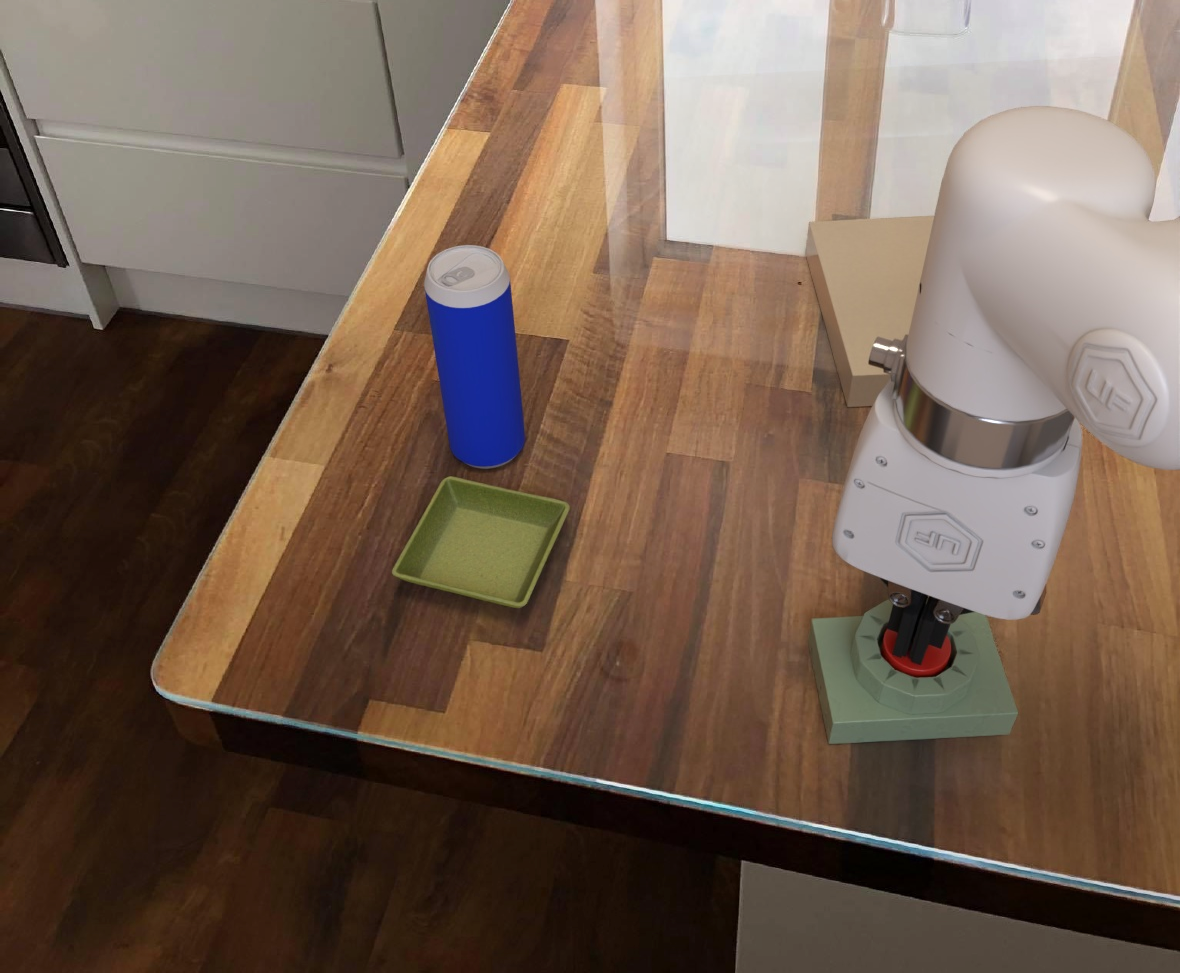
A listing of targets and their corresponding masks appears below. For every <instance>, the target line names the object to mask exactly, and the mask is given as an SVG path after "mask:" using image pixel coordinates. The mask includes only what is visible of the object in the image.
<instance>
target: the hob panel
mask: <svg viewBox="0 0 1180 973" xmlns="http://www.w3.org/2000/svg"><path fill="white" fill-rule="evenodd" d="M933 220H934V215H918V216H915V215H914V216H896V217H895V216H894V217H877V218H876V217H874V218H859V219H857V218H855V219H836V220H834V219H833V220H817V221H815V220H814V221H813V220H812V221H809V222H808V229H807V237H806V242H805V243H806V244H805V251H804V252H805V256H806V260H807V263H808V268H809V271H810V275H811V279H812V282H813V286H814V290H815V294H816V297H817V301H818V305H819V308H820V311H821V316H822V319H823V324H824V326H825V330H826V333H827V338H828V341H829V344H830V348H831V353H832V355H833V359H834V363H835V367H836V370H837V374H838V377H839V381H840V385H841V388H842V393H843V396H844V400H845V403H846V407H847V408H859V407H861V408H863V407H872V406H873V404H874V402H875V400H876V399H877V397H878V395H879V394H880V392H881V391H882V390H883V389H884V387H885V386H886V384H887V382H888V381H889V380H890V379H891V374H887V373H884V372H883V369H882V368H878V367H875V366H872V365H869V364H868V361H869V356H870V353H871V350H872V347H873V344H874V342H875V340H876V338H877V337H881V338H885V339H888V340H891V341H893V340H894V339H895V338H896V339H900V340H903V338H904V336H905V335H909V330H910V326H911V321H912V316H913V312H914V307H915V303H916V298H917V293H918V289H919V284H920V280H921V275H922V270H923V266H924V261H925V256H926V252H927V247H928V243H929V238H930V233H931V229H932V224H933Z"/></svg>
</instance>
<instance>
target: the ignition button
mask: <svg viewBox="0 0 1180 973" xmlns="http://www.w3.org/2000/svg"><path fill="white" fill-rule="evenodd" d="M897 634H898V633H897V632H894V631H892V630H889V629H887V630H886V632H885V634H884V638H883V642H882V646H881V650H880V653H881V656H882V657H883V658H884V659H885V660H886V661H887V662H888V663H889V664H890V665H891V666H892V667H893V668H894V669H895V670H897V671H899V672H902V673H905V674H907V675H910V676H912V677H915V678H919V677H936V676H937V675H939V674H941V673H942V672H944V671H945V670H946V666H947V663H948V660H949V657H950V654H951V644H950V641H949V638H948V636H946V638H945V641H944V643H943V646H942V648H941V649H940V648H937V647H934V646H932V645H929V646H928V649H927V651H926V653H925V656H924V658H923V661H922V663H921V665H918V664H915V663H913V662H911V661H912V659H909V655H910V651H911V648H912V645H913V641H914V639H913V641H912V643H911V646H910V648H909V651H908V653H907V655H906V657H904V656H902V658H900V657H897V656H895V655H892V653H893V649H894V645H895V642H896V638H897ZM914 638H915V636H914Z"/></svg>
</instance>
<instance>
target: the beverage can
mask: <svg viewBox="0 0 1180 973" xmlns="http://www.w3.org/2000/svg"><path fill="white" fill-rule="evenodd" d="M425 272H426V273H425V277H424V282H423V287H424V293H425V300H426V307H427V312H428V317H429V324H430V331H431V337H432V343H433V350H434V356H435V357H434V358H435V362H436V369H437V374H438V382H439V387H440V394H441V400H442V407H443V412H444V418H445V419H444V420H445V425H446V431H447V438H448V443H449V449H450V451H451V453H452V454H453V455H454V457H456V459H458V460H460V461H461V462H462V463H464V464H465V465H467V466H469V467H472V468H476V469H482V470H488V469H489V470H490V469H495V468H499V467H502V466H504V465H507V464H508V463H510V462H511V461H512V460H513V459H515V457H517V455H519V453H520V452H521V451H522V450H523V447H524V445H525V442H526V432H525V421H524V411H523V400H522V389H521V380H520V379H521V376H520V367H519V357H518V348H517V336H516V327H515V326H516V324H515V315H514V306H513V305H514V304H513V293H512V283H511V275H510V272H509V270H508V268H507V266H506V264H505V262H504V260H503V259H502V257H501V256H500V255H499V254H498V253H497V252H496V251H494V250H492V249H491V248H488V247H484V246H481V245H475V244H464V245H463V244H462V245H457V246H452V247H448V248H446V249H443V250H442V251H440V252H438V253H436V255H434V256H433V257H432V258H431V259H430V261H429V262H428V264H427V268H426V271H425Z"/></svg>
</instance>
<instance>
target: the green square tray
mask: <svg viewBox="0 0 1180 973" xmlns="http://www.w3.org/2000/svg"><path fill="white" fill-rule="evenodd" d="M570 510H571V506H570V504H569V503H568V502H566V501H564V500H560V499H557V498H552V497H548V496H542V495H537V494H533V493H527V492H524V491H518V490H514V489H510V488H505V487H500V486H497V485H491V484H487V483H483V482H478V481H473V480H469V479H465V478H461V477H456V476H452V475H450V476H446V477H444V478H443V479H442V480H441V482H440V483H439V485H438V486H437V488H436V491H435V492H434V494H433V496H432V498H431V499H430V501H429V503H428V505H427V507H426V509H425V511H424V513H423V514H422V516H421V518H420V520H419V521H418V523H417V525H416V527H415V528H414V530H413V531H412V534H411V535H410V538H408V541H407V542H406V544H405V546H404V548H403V550H402V552H401V553H400V555H399V557H398V559H397V560H396V562H395V564H394V566H393V567H392V570H391V574H392V575H393V576H394V577H396V578H398V579H400V580H402V581H404V582H407V583H412V584H416V585H420V586H422V587H423V586H425V587H427V588H432V589H437V590H441V591H444V592H449V593H452V594H456V595H461V596H464V597H469V598H472V599H477V600H480V601H485V602H489V603H492V604H496V605H501V606H505V607H507V608H513V609H520V608H523V607H525V606H526V605H527V604H528V602H529V600H530V598H531V596H532V593H533V591H534V589H535V586H536V584H537V582H538V580H539V578H540V576H541V574H542V572H543V569H544V567H545V564H546V562H547V560H548V558H549V556H550V553H551V551H552V549H553V547H554V545H555V542H556V541H557V538H558V536H559V534H560V531H561V529H562V528H563V525H564V522H565V520H566V518H567V516H568V513H569V511H570Z"/></svg>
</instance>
